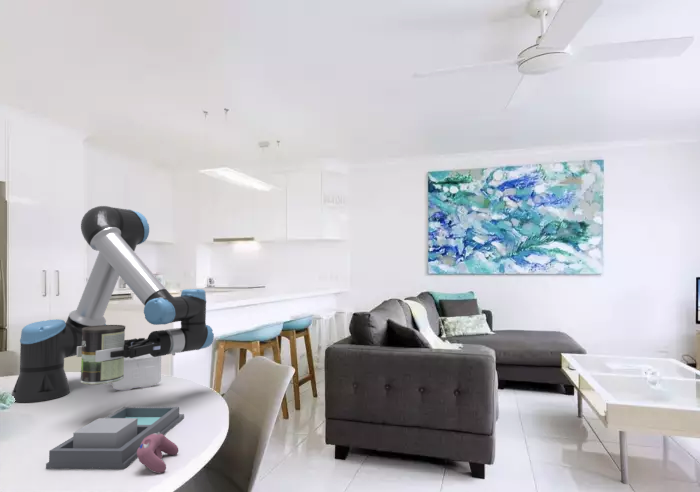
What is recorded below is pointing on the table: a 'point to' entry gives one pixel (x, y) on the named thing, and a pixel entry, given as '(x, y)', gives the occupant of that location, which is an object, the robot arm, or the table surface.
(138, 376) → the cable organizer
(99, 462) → the grey compartment tray
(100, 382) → the coffee can
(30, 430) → the table surface
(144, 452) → the video game controller
